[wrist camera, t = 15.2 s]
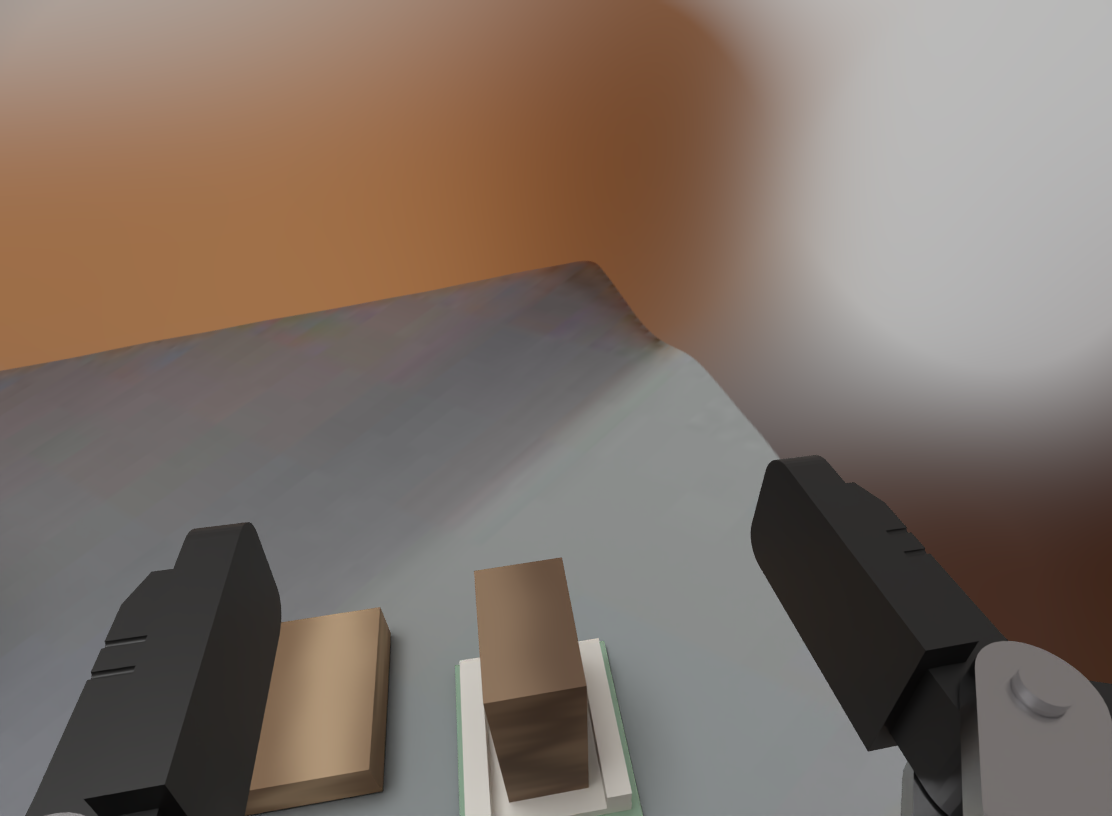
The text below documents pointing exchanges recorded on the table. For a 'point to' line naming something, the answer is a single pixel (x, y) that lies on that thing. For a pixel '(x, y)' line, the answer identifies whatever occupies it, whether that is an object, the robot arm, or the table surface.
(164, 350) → the table surface
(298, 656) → the flat wooden block
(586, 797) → the rack
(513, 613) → the tall wooden pillar
